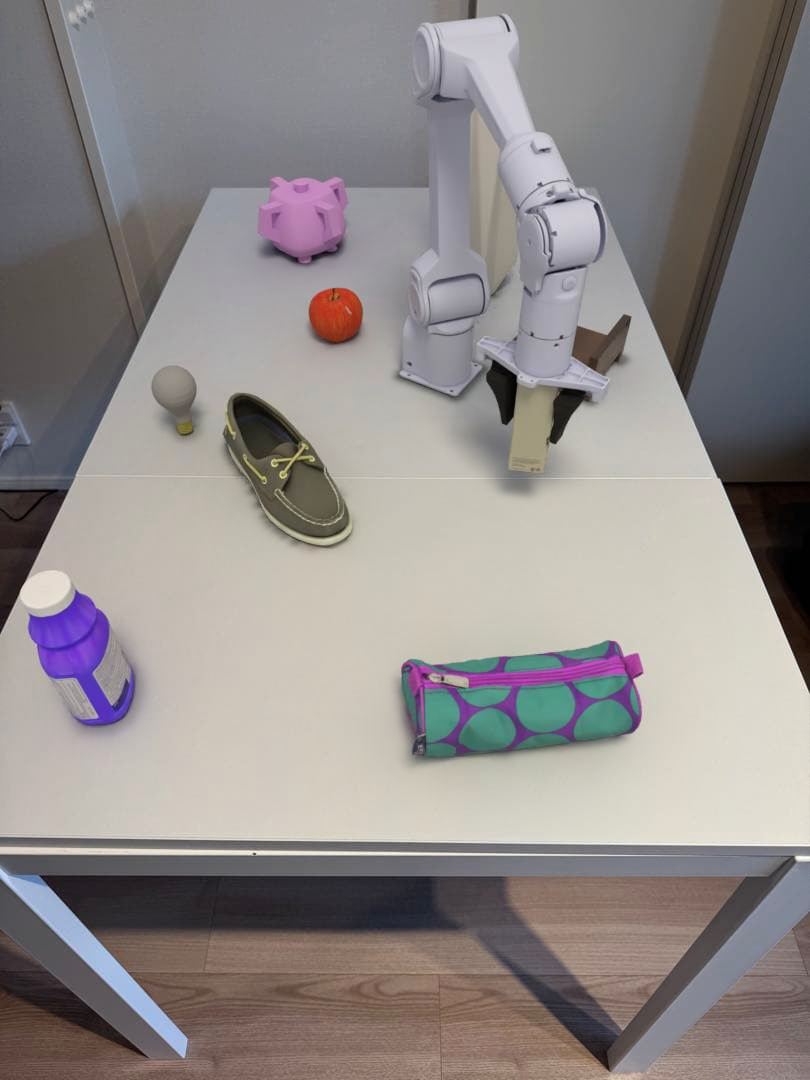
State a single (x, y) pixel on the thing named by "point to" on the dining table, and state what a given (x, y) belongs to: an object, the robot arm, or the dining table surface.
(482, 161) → the vase
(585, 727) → the pencil case
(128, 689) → the bottle
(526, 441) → the box
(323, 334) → the apple
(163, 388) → the light bulb
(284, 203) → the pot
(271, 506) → the boat shoe
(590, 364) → the shelf
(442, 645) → the dining table surface
